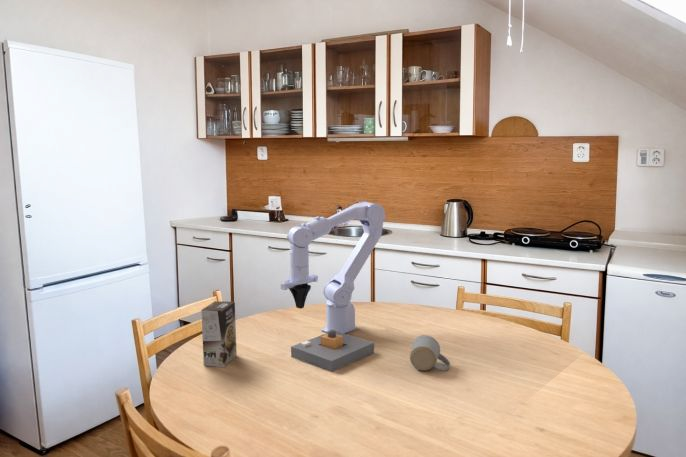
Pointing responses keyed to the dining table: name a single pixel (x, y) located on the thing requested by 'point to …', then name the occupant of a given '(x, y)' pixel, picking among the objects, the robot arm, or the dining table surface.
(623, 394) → the dining table surface
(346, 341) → the socket plate
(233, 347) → the coffee box
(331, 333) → the plug
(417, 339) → the ceramic mug
